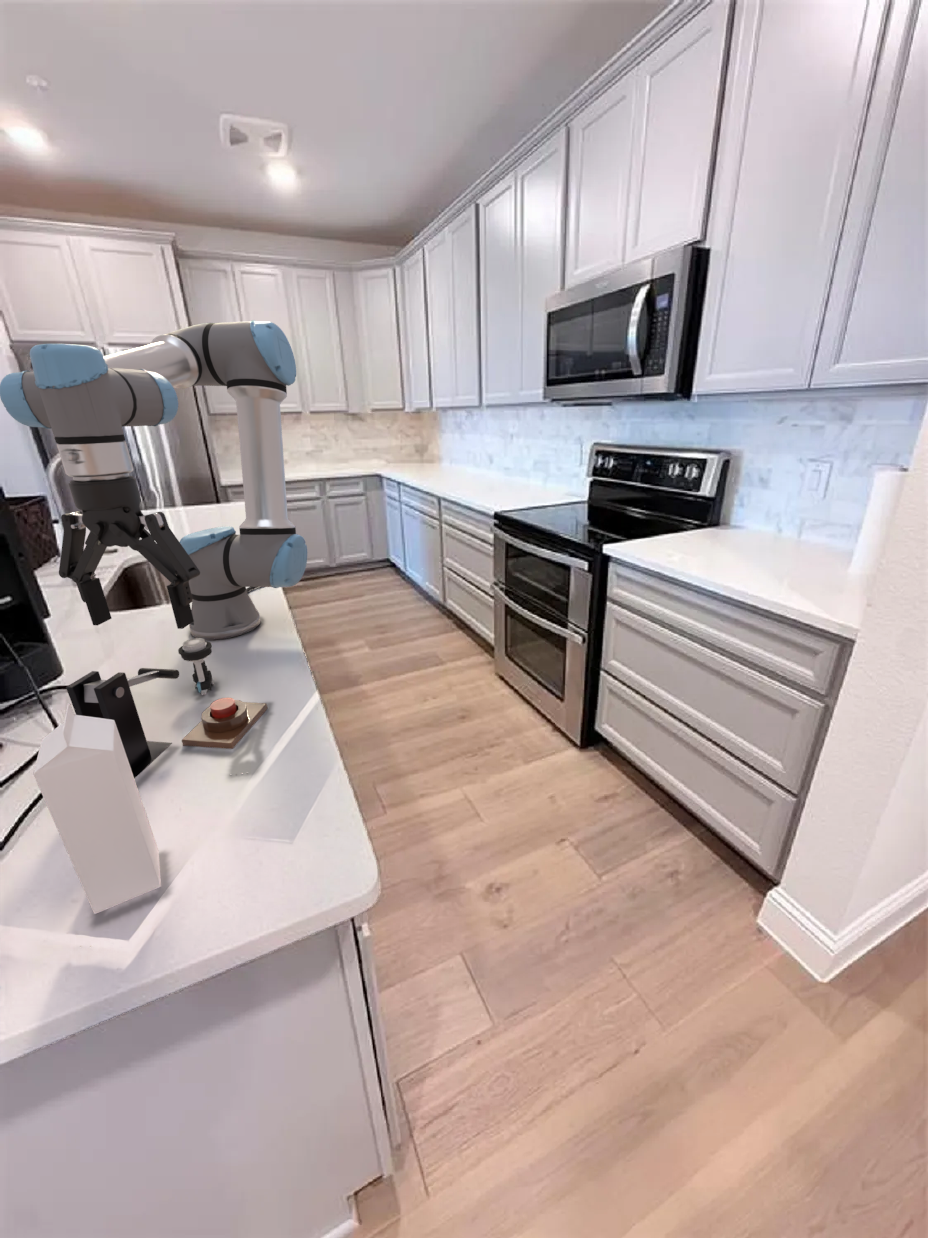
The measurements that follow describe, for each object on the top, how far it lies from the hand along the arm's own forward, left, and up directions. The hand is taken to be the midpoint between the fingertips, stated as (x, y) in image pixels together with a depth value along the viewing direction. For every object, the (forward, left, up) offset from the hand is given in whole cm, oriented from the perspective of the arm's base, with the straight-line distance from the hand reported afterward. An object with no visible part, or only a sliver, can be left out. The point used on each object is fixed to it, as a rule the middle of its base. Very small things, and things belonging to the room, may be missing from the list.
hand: (143, 623), depth 75 cm
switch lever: (+6, 0, -8) cm, 10 cm away
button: (0, +10, -15) cm, 18 cm away
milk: (+28, +15, -19) cm, 37 cm away
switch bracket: (+10, 0, -18) cm, 21 cm away
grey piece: (-11, -1, -19) cm, 22 cm away
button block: (0, +10, -18) cm, 21 cm away
